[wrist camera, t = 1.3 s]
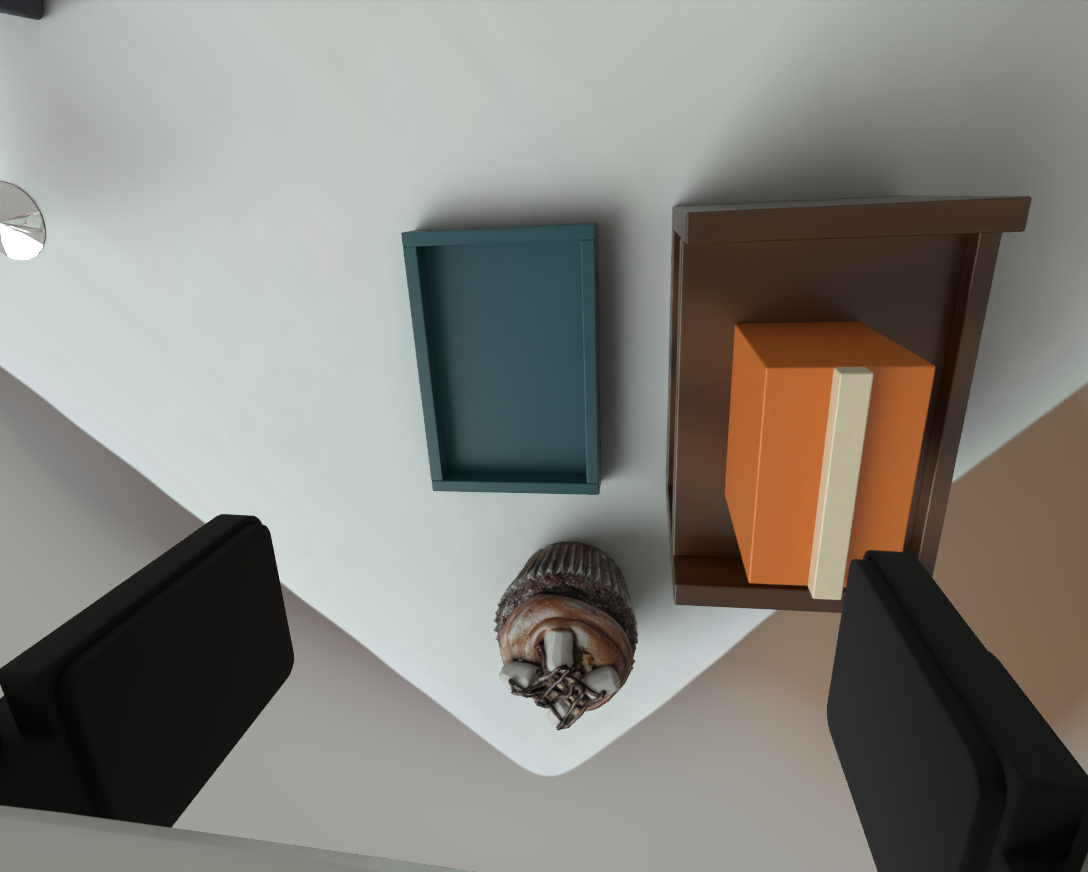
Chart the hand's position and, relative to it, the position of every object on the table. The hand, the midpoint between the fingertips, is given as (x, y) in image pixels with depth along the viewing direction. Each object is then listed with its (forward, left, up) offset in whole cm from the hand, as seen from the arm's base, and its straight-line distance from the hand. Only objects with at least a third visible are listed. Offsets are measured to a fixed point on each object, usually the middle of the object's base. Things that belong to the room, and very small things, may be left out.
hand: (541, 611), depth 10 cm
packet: (+4, +8, -20) cm, 22 cm away
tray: (+4, -7, -30) cm, 31 cm away
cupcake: (+21, -3, -30) cm, 37 cm away
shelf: (+4, +9, -30) cm, 32 cm away
